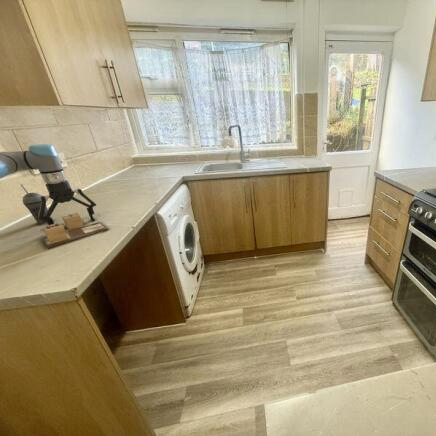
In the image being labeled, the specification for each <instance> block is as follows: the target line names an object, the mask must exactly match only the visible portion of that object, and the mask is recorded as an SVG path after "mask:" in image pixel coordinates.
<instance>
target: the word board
mask: <svg viewBox="0 0 436 436" xmlns="http://www.w3.org/2000/svg"><path fill="white" fill-rule="evenodd" d="M65 231H66V234H67V236H68V238H66V239H62V240H59V241H56V242H52V243H50V241H49V240H48V238H47V236H45V237H42V241H43V243H44V244H45V246H46V247H47V249H48V250H51V249H55V248H57V247H60V246H63V245H66V244H69V243H73V242H76V241H79V240H82V239H85V238H87V237H91V236H94V235H97V234H100V233H104V232H108V231H109V229H108V227H107V226H105V225H104V224H103V223H102V222H100V221H98V222H95V223H91V224H87V225H83V226H79V227H76V228H72V229H69V230H65Z"/></svg>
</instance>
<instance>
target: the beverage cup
mask: <svg viewBox="0 0 436 436" xmlns="http://www.w3.org/2000/svg"><path fill="white" fill-rule="evenodd" d="M20 186H21V187H22V189H23V190H24V192H25V193H26V194H25V195H24V196H23V197H22V204H23V205H24V206H25V207H26V209H28V211H29V213H30V214H31V216H32V217H33V219H34V220H35V221H36V222H37V224H39V225H42V224H43V225H44V224H47V221H46V220H45V219H39V218H38V214H39V209H40V205H41V198H40V196H42V194H39V193H38V192H28V190H27V189H26V187H25V186H24V185H23V184H21V183H20ZM48 209H49V208H48V205H46V206H45V211H44V215H43V216H45V214H46V213H47V211H48Z"/></svg>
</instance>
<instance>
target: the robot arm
mask: <svg viewBox="0 0 436 436" xmlns="http://www.w3.org/2000/svg"><path fill="white" fill-rule="evenodd" d="M31 170H38V172H39V175H40V177H41V178H42V181H43V183H45V187H46V189H47V192H48V195H41V196H40V198H41V205H40V209H39V214H38V218H39V219H45V220H46V221H47V223H46V224H47V226H48V225H52V224H55V222H54V219H53V218H52V215H53V213H54V211H55V209H56V207H57V206H58V204H64V203H69V202H71V201H73V202H76V203H78V204H81V205H82V206H84V207H86V211H87V214H88V216H89V219H90V221H92V222H95V218H94V216H93V215H95V211H94V207H96V206H97V204H96V203H95V202H94V201H93V200H92V199H91V198H90V197H88V196H87V195H86V194H85V193H84V192H83V191H82V189H81V188H79V187H78V188H76V189H72V186H71V184H70V182H69V180H68V177H67V174H66V172H65V170H64V168H63V165H62V162H61V160H60V157H59V154H58V153H57V151H56V149H55V147H54V145H52V144H50V143H41V144H31V145H29V146H28V150H20V151H19V150H17V151H1V152H0V179H3V178H5V177H7V176H9V175H12V174H16V173H18V172H22V171H23V172H24V171H31ZM75 194H77V195H80V196H81V197H82V198H83V199H84V200H86V201H87V202H88V203H87V202H85V201H83V200H80V199H78V198H77V197H76V196H75ZM49 199H51V200H52V201H51V204H50V206H49V207H48V208H47V209H48V211H47V213H46V214H45V216H43V215H44V211H45V206H47V202H48V201H49Z"/></svg>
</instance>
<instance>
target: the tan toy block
mask: <svg viewBox="0 0 436 436" xmlns="http://www.w3.org/2000/svg"><path fill="white" fill-rule="evenodd" d="M41 228H42V230H43V232H44V235H45V237H47V238H48V240H49V241H50V243H52V242H56V241H59V240H62V239H66V238H68V236H67V234H66V231H67V230H65V227H64V225H63V224H62V223H61V222H55V223H54V224H52V225H48V224H47V225H45V226H42V227H41Z"/></svg>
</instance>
